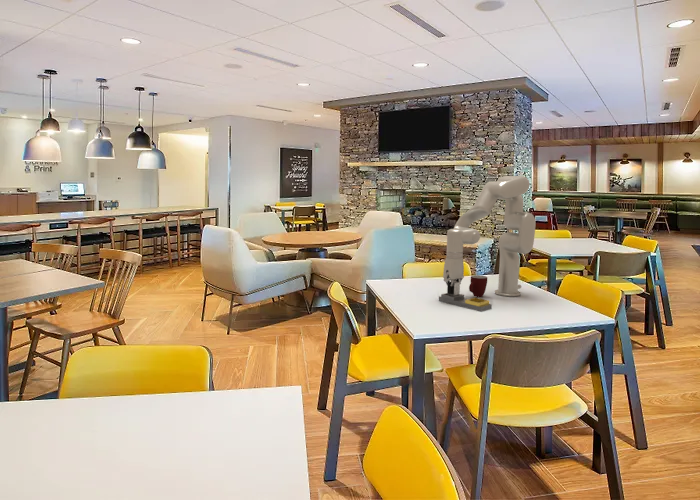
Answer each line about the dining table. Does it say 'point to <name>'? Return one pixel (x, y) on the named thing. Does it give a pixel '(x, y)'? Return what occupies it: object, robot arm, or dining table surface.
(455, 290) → the knobbed metal block
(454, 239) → the robot arm
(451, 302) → the grey flat elongated piece
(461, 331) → the dining table surface
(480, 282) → the mug
